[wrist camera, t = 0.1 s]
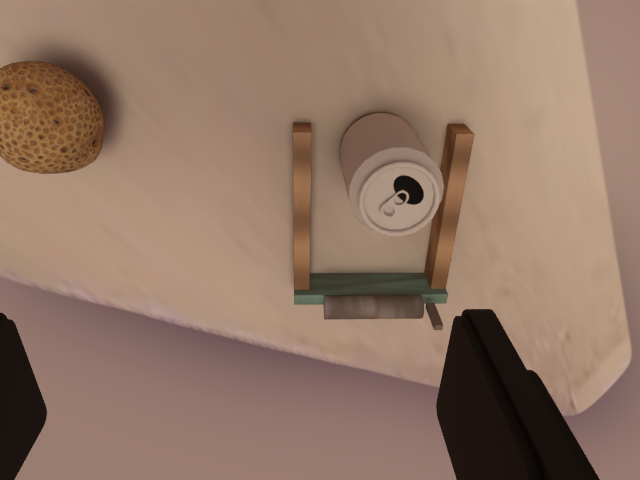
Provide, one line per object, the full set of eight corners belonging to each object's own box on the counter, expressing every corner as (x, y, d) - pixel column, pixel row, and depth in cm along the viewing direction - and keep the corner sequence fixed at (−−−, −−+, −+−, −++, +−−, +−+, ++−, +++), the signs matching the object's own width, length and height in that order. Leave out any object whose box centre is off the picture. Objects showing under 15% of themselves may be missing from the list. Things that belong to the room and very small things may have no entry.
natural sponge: (143, 128, 45) (106, 169, 36) (64, 166, 46) (10, 213, 38) (80, 32, 40) (22, 51, 32) (-5, 77, 42) (-82, 107, 33)
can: (431, 149, 47) (469, 202, 36) (373, 198, 49) (393, 261, 39) (382, 93, 44) (408, 133, 34) (322, 148, 46) (330, 202, 36)
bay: (293, 122, 45) (292, 154, 38) (464, 124, 46) (496, 155, 38) (294, 287, 54) (293, 338, 47) (436, 286, 55) (457, 336, 48)
